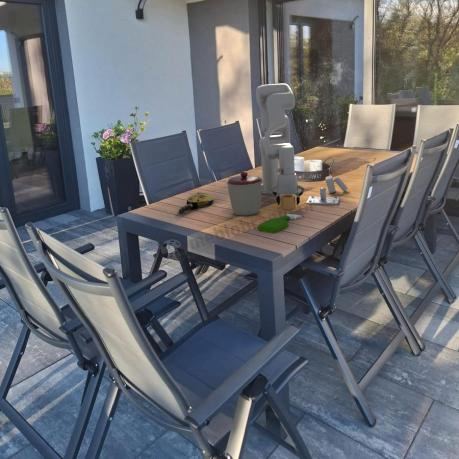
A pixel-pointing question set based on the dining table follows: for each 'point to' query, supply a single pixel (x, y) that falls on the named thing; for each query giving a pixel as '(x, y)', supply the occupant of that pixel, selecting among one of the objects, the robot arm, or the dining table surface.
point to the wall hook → (332, 187)
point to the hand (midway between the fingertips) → (288, 204)
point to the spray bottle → (276, 223)
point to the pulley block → (198, 202)
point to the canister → (245, 194)
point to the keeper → (323, 199)
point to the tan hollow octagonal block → (288, 201)
